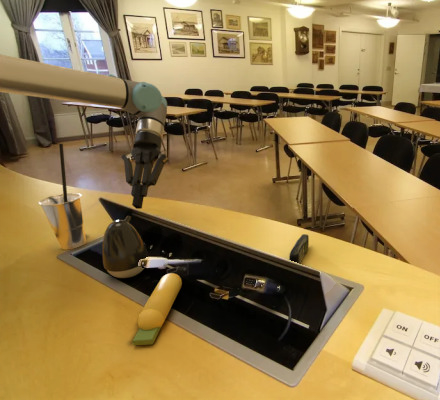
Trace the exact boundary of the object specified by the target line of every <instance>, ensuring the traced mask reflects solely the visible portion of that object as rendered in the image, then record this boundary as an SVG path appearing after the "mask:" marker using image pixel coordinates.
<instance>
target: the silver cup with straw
mask: <svg viewBox="0 0 440 400" xmlns="http://www.w3.org/2000/svg"><path fill="white" fill-rule="evenodd" d="M58 147H59V149H58V150H59V160H60V173H61V185H62V193H58V194H54V195H49V196H46V197H43V198H41V199H40V200H38V201H37V204H38V205H40V206H41V208H42V211H43V213H44V214H45V218H46V219H47V221H48V223H49V225H50V227H51V229H52V231H53V234H54V235H55V237H56V240H57V242H58V244H59V246H60V249H62V250H67V251H68V250H74V248H75V249H78V248H80V247H79V246H81V247H82V245H83V246H84V245H86V243H87V239H86V232H85V231H86V230H85V226H84V218H83V211H82V203H81V198H82V194H81V193H77V192H68V190H67V189H68V187H67V176H66V165H65V155H64V144H63V143H58ZM77 247H78V248H77Z"/></svg>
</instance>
